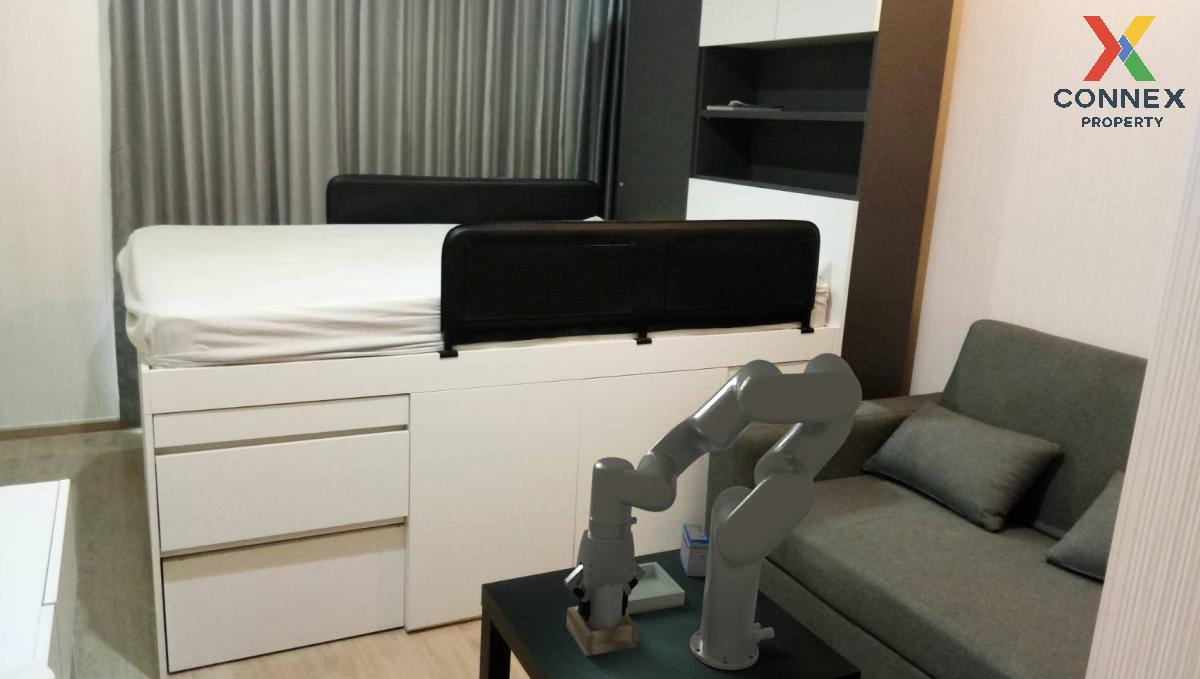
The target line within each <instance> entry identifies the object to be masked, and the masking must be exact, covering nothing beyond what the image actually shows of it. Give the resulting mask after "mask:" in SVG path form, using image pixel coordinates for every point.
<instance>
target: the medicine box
mask: <svg viewBox="0 0 1200 679" xmlns="http://www.w3.org/2000/svg"><path fill="white" fill-rule="evenodd" d="M709 540H710V537H709V536H708V534H707V532H706V529H705V528H704V526H703V524H700V523H699V524H698V523H684V524H683V527H682V535H681V542H680V551H679V560H680V563H681V565H682V568H683V570H684V573H685V575H686V576H687V577H706V570H707V561H708V552H709Z"/></svg>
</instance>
